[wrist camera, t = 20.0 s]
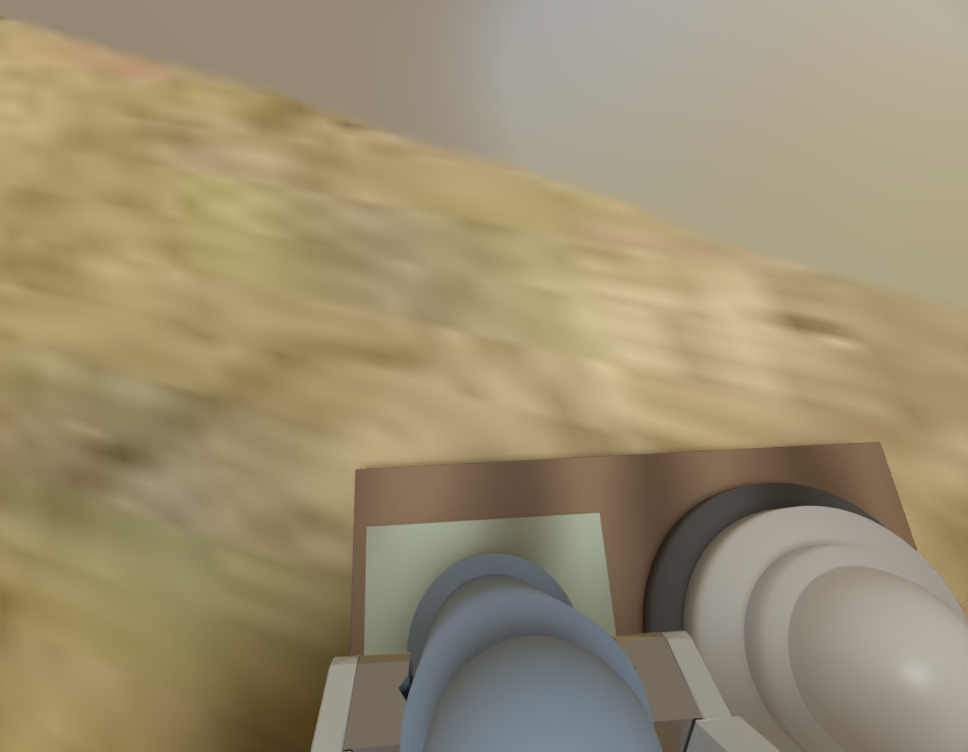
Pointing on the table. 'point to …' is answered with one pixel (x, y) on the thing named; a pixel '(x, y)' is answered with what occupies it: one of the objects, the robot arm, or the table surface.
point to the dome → (831, 634)
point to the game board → (589, 525)
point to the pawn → (517, 669)
